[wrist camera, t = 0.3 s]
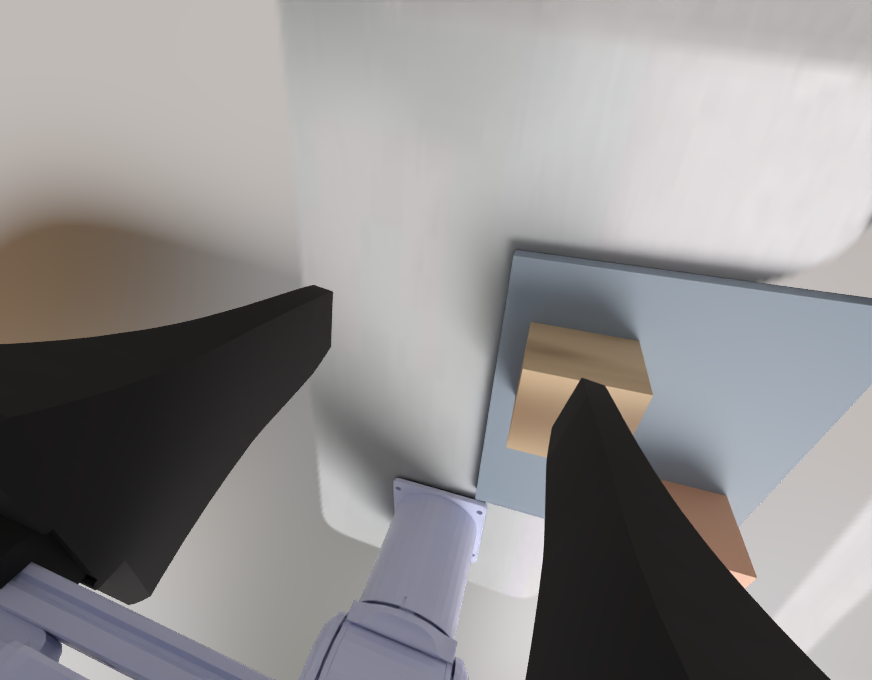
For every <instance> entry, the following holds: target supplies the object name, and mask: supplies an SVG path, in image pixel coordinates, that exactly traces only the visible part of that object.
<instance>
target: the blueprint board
mask: <svg viewBox="0 0 872 680" xmlns="http://www.w3.org/2000/svg"><path fill="white" fill-rule="evenodd" d="M531 322H535V323H540V324H546V325H552V326H557V327H563V328H569V329H574V330H580V331H586V332H591V333H597V334H603V335H608V336H614V337H620V338H625V339H631V340H637V341H639V342H640V346H641V350H642V353H643V357H644V361H645V365H646V369H647V373H648V377H649V381H650V385H651V389H652V393H653V397H652V399H651V401H650V403H649V405H648V407H647V409H646V411H645V413H644V415H643V417H642V419H641V421H640V423H639V425H638V427H637V429H636V431H635V433H634V435H633V436H634V438H635V440H636V441H637V443H638V445H639V447H640V448H641V450H642V452H643V453H644V455H645V457H646V458H647V460H648V461H649V463H650V465H651V466H652V468H653V469H654V471H655V472H656V474H657V475H658V477H659V478H660V479H661V480H665V481H669V482H673V483H677V484H681V485H685V486H689V487H693V488H697V489H701V490H705V491H709V492H713V493H717V494H721V495H725V496H727V498H728V501H729V503H730V506H731V509H732V512H733V514H734V517H735V520H736V522H737V525H738V527H739V526H740V525H741V524H742V523H743V522H744V521H745V520H746V519H747V518H748V516H749V515H750V514H751V513H752V512H753V511H754V510H755V509H756V508H757V507H758V506H759V505H760V503H762V501H763V500H764V499H765V498H766V497H767V496H768V495H769V494H770V493H771V492H772V491H773V490H774V488H776V486H777V485H778V484H779V483H780V482H781V481H782V480H783V479H784V478H785V477H786V475H788V473H790V471H791V470H792V469H793V468H794V467H795V466H796V465H797V464H798V463H799V462H800V460H802V459H803V457H804V456H805V455H806V454H807V453H808V452H809V451H810V450H811V449H812V448H813V447H814V446H815V444H817V442H818V441H819V440H820V439H821V438H822V437H823V436H824V435H825V434H826V433H827V432H828V431H829V430H830V428H831V427H832V426H833V425H834V424H835V423H836V422H837V421H838V420H839V419H840V418H841V417H842V416H843V415H844V413H845V412H846V411H847V410H848V409H849V408H850V407H851V406H852V405H853V404H854V403H855V402H856V401H857V399H858V398H859V397H860V396H861V395H862V394H863V393H864V392H865V391H866V390H867V389H868V388H869V387H870V386H871V384H872V298H867V297H859V296H852V295H844V294H837V293H829V292H822V291H815V290H808V289H800V288H793V287H786V286H779V285H771V284H764V283H757V282H749V281H742V280H735V279H727V278H720V277H713V276H705V275H698V274H691V273H683V272H676V271H669V270H661V269H654V268H647V267H639V266H632V265H625V264H617V263H610V262H603V261H595V260H588V259H581V258H573V257H566V256H559V255H551V254H544V253H537V252H529V251H522V250H515V253H514V256H513V262H512V268H511V275H510V281H509V287H508V294H507V300H506V306H505V313H504V319H503V325H502V332H501V338H500V344H499V351H498V357H497V363H496V370H495V376H494V382H493V389H492V395H491V401H490V408H489V414H488V420H487V427H486V433H485V439H484V446H483V452H482V458H481V465H480V471H479V477H478V484H477V490H476V496H475V499H477V500H481V501H484V502H488V503H491V504H495V505H498V506H502V507H505V508H509V509H512V510H516V511H519V512H523V513H526V514H530V515H533V516H537V517H540V518H544V519H545V488H546V460H547V458H546V457H542V456H538V455H534V454H530V453H526V452H522V451H518V450H514V449H510V448H506V446H507V440H508V434H509V429H510V423H511V418H512V412H513V407H514V401H515V396H516V391H517V386H518V381H519V376H520V372H521V367H522V362H523V357H524V352H525V348H526V343H527V338H528V333H529V328H530V324H531Z"/></svg>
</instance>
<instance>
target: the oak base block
mask: <svg viewBox="0 0 872 680" xmlns="http://www.w3.org/2000/svg"><path fill="white" fill-rule="evenodd" d="M581 378H585V379H588V380H591V381H594V382H597V383H599V384H602V385H605V386H606V388H607V390H608V391H609V393H610V395H611V397H612V399H613V400H614V402H615V404H616V406H617V408H618V409H619V411H620V413H621V415H622V417H623V419H624V420H625V422H626V424H627V426H628V427H629V429H630V431H631V433H632V435H634V433H635V431H636V429H637V427H638V425H639V423H640V421H641V419H642V417H643V415H644V413H645V411H646V409H647V407H648V405H649V403H650V401H651V399H652V397H653V393H652V389H651V385H650V381H649V377H648V373H647V369H646V365H645V361H644V357H643V353H642V350H641V346H640V342H639V341H637V340H631V339H625V338H620V337H614V336H608V335H603V334H597V333H591V332H586V331H580V330H574V329H569V328H563V327H557V326H552V325H546V324H540V323H535V322H531V324H530V328H529V333H528V338H527V343H526V348H525V352H524V357H523V362H522V367H521V372H520V376H519V381H518V386H517V391H516V396H515V401H514V407H513V412H512V418H511V423H510V429H509V434H508V440H507V446H506V448H510V449H514V450H518V451H522V452H526V453H530V454H534V455H538V456H542V457H546V458H547V453H548V447H549V441H550V435H551V429H552V426H553V424H554V423H555V421H556V419H557V418H558V416H559V414H560V413H561V411H562V409H563V408H564V406H565V404H566V403H567V401H568V399H569V398H570V396H571V394H572V393H573V391H574V389H575V388H576V386H577V384H578V383H579V381H580V379H581Z"/></svg>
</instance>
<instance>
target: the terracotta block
mask: <svg viewBox="0 0 872 680" xmlns="http://www.w3.org/2000/svg"><path fill="white" fill-rule="evenodd" d="M660 480H661V479H660ZM661 481H662V483H663V484H664V486H665V487H666V489H667V491H668V492H669V494H670V495H671V496H672V498H673V499H674V501H675V502H676V504H677V505H678V506H679V508H680V509H681V511H682V512H683V513H684V515H685V516H686V517H687V518H688V520H689V521H690V522H691V524H692V525H693V526H694V528H695V529H696V530H697V532H698V533H699V534H700V536H701V537H702V538H703V539H704V541H705V542H706V543H707V545H708V546H709V547H710V548H711V549H712V551H713V552H714V553H715V554H716V556H717V557H718V558H719V559H720V561H721V562H722V563H723V564H724V565H725V566H726V568H727V569H728V570H729V571H730V572H731V573H732V574H733V576H734V577H735V578H736V579H737V580H738V581H739V583H740V584H741V585H742V586H743V587H744V588H746V587H747V586H749V585H750V584H751V583H752V582H753V581H754V580H755V579H757V577H756V574H755V571H754V569H753V566H752V563H751V560H750V558H749V555H748V552H747V550H746V547H745V544H744V542H743V539H742V536H741V534H740V531H739V528H738V525H737V522H736V520H735V517H734V514H733V512H732V509H731V506H730V503H729V501H728V498H727V496H725V495H721V494H717V493H713V492H709V491H705V490H701V489H697V488H693V487H689V486H685V485H681V484H677V483H673V482H669V481H665V480H661Z"/></svg>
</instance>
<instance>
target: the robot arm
mask: <svg viewBox="0 0 872 680" xmlns="http://www.w3.org/2000/svg"><path fill="white" fill-rule="evenodd" d="M332 302H333V292H332V291H330V290H327V289H324V288H321V287H318V286H315V285H312V286H308V287H304V288H300V289H297V290H294V291H290V292H287V293H284V294H281V295H278V296H275V297H272V298H269V299H265V300H262V301H259V302H256V303H253V304H250V305H247V306H243V307H240V308H236V309H232V310H229V311H225V312H222V313H218V314H214V315H211V316H208V317H204V318H199V319H195V320H191V321H187V322H182V323H178V324H173V325H168V326H163V327H158V328H152V329H146V330H139V331H132V332H125V333H118V334H111V335H104V336H98V337H90V338H79V339H69V340H60V341H59V340H58V341H45V342H33V343H16V344H0V680H89V679H87V678H85V677H83V676H81V675H79V674H78V673H76V672H74V671H72V670H70V669H68V668H66V667H65V666H63V665H61V664H59V663H58V662H59V658H60V656H61V653H62V644H61V643H64V644H65V645H67V646H69V647H71V648H73V649H75V650H77V651H79V652H81V653H83V654H85V655H87V656H89V657H91V658H93V659H95V660H97V661H99V662H101V663H103V664H105V665H107V666H109V667H111V668H113V669H115V670H116V671H118V672H120V673H122V674H124V675H126V676H128V677H130V678H132V679H134V680H275V679H272V678H270V677H268V676H266V675H264V674H262V673H260V672H258V671H256V670H254V669H251V668H250V667H247V666H246V665H243V664H241V663H239V662H237V661H235V660H233V659H231V658H229V657H227V656H225V655H223V654H220V653H218V652H217V651H215V650H212V649H210V648H208V647H206V646H204V645H202V644H200V643H198V642H196V641H194V640H192V639H190V638H187V637H186V636H183V635H181V634H179V633H177V632H175V631H173V630H171V629H169V628H167V627H165V626H163V625H161V624H159V623H157V622H154V621H153V620H150V619H148V618H146V617H144V616H142V615H140V614H138V613H136V612H134V611H132V610H130V609H128V608H125V607H123V606H121V605H119V604H117V603H115V602H113V601H111V600H109V599H107V598H105V597H103V596H101V595H99V594H97V593H95V592H92V591H90V590H88V589H86V588H84V587H82V586H80V585H78V584H79V583H81V584H83V585H86V586H87V587H89V588H92V589H94V590H99V591H101V592H103V593H105V594H107V595H109V596H111V597H113V598H116V599H117V600H120V601H122V602H124V603H126V604H128V605H130V604H135V603H137V602H140V601H142V600H144V599H146V598H148V597H150V596H151V595H152V593H153V591H154V589H155V587H156V586H157V584H158V583H159V581H160V579H161V577H162V576H163V574H164V573H165V571H166V569H167V568H168V566H169V564H170V563H171V561H172V560H173V558H174V556H175V555H176V553H177V551H178V550H179V548H180V546H181V545H182V543H183V542H184V540H185V538H186V537H187V535H188V534H189V532H190V531H191V529H192V528H193V526H194V525H195V523H196V522H197V520H198V518H199V517H200V515H201V513H202V512H203V511H204V509H205V508H206V506H207V505H208V503H209V501H210V500H211V499H212V497H213V496H214V494H215V493H216V491H217V490H218V489H219V487H220V486H221V484H222V483H223V481H224V480H225V478H226V477H227V476H228V474H229V473H230V471H231V470H232V469H233V467H234V466H235V465H236V463H237V462H238V460H239V459H240V458H241V456H242V455H243V454H244V452H245V451H246V450H247V448H248V447H249V445H250V444H251V442H252V441H253V440H254V439H255V438H256V437H257V435H258V434H259V433H260V432H261V430H262V429H263V428H264V427H265V426H266V425H267V424H268V423H269V422H270V420H271V419H272V418H273V417H274V416H275V415H276V414H277V413H278V412H279V410H281V408H282V407H283V406H284V405H285V404H286V403H287V402H288V401H289V400H290V399H291V397H292V396H293V395H294V394H295V393H296V392H297V391H298V390H299V389H300V387H301V386H302V385H303V384H304V383H305V382H306V381H307V380H308V378H309V377H310V376H311V375H312V374H313V373H314V371H315V370H316V368H317V367H318V365H319V364H320V363H321V361H322V360H323V358H324V357H325V355H326V354H327V352H328V350H329V349H330V347H331V329H332ZM393 492H394V509H395V515H394V517H393V519H392V522H391V524H390V527H389V529H388V532H387V534H386V537H385V539H384V541H383V544H382V546H381V549H380V551H379V554H378V556H377V559H376V561H375V564H374V566H373V568H372V571H371V573H370V576H369V578H368V581H367V583H366V586H365V588H364V590H363V593H362V595H361V598H360V600H359V601H357V600H354V601H353V604H352V606H351V609H350V611H349V613H348V612H346V611H340V612H338V613H337V614H336V615H335V616H333V617H331V618H330V619H329V620H328V621H327V623H326V624H325V625H324V627H323V628H322V630H321V631H320V634H319V635H318V637H317V639H316V641H315V643H314V645H313V647H312V649H311V651H310V653H309V656H308V658H307V660H306V662H305V665H304V667H303V670H302V672H301V675H300V678H299V680H468V679H469V677H468V673H467V671H466V669H465V667H464V662H463V660H462V659H459V658H457V657H455V659H454V656H455V651H456V646H457V641H456V640H455V635H456V630H457V626H458V621H459V616H460V611H461V607H462V602H463V597H464V592H465V588H466V583H467V578H468V573H469V569H470V564H471V563H475V562H476V561H477V556H478V551H479V546H480V541H481V535H482V530H483V525H484V520H485V515H486V510H487V505H486V504H485V503H484V502H481V501H478V500H474V499H471V498H467V497H464V496H460V495H457V494H453V493H450V492H446V491H443V490H439V489H436V488H432V487H429V486H425V485H422V484H418V483H415V482H411V481H408V480H404V479H401V478H395V479H394V482H393ZM60 642H61V643H60ZM526 680H830V679H829V678H828V677H827V676H826V675H825V674H824V673H823V672H822V671H821V670H820V669H819V668H818V667H817V666H816V665H815V664H814V663H813V661H812V660H811V659H810V658H809V657H808V656H807V655H806V654H805V653H804V652H803V651H802V650H801V649H800V648H799V647H798V646H797V645H796V644H795V643H794V642H793V641H792V640H791V638H790V637H789V636H788V635H787V634H786V633H785V632H784V631H783V630H782V629H781V628H780V627H779V626H778V625H777V624H776V623H775V622H774V621H773V620H772V618H771V617H770V616H769V615H768V614H767V613H766V612H765V611H764V610H763V609H762V607H760V605H759V604H758V603H757V602H756V601H755V600H754V599H753V598H752V597H751V595H750V594H749V593H748V592H747V591H746V590H745V588H744V587H743V586H742V585H741V584H740V583H739V581H738V580H737V579H736V578H735V577H734V576H733V574H732V573H731V572H730V571H729V570H728V569H727V568H726V566H725V565H724V564H723V563H722V562H721V561H720V559H719V558H718V557H717V556H716V554H715V553H714V552H713V551H712V549H711V548H710V547H709V546H708V545H707V543H706V542H705V541H704V539H703V538H702V537H701V536H700V534H699V533H698V532H697V530H696V529H695V528H694V526H693V525H692V524H691V522H690V521H689V520H688V518H687V517H686V516H685V515H684V513H683V512H682V511H681V509H680V508H679V506H678V505H677V504H676V502H675V501H674V499H673V498H672V496H671V495H670V494H669V492H668V491H667V489H666V487H665V486H664V484H663V483H662V481H661V480H660V478H659V477H658V475H657V474H656V472H655V471H654V469H653V468H652V466H651V465H650V463H649V461H648V460H647V458H646V457H645V455H644V453H643V452H642V450H641V448H640V447H639V445H638V443H637V441H636V440H635V438H634V436H633V435H632V433H631V431H630V429H629V427H628V426H627V424H626V422H625V420H624V419H623V417H622V415H621V413H620V411H619V409H618V408H617V406H616V404H615V402H614V400H613V399H612V397H611V395H610V393H609V391H608V390H607V388H606V386H605V385H602V384H599V383H597V382H594V381H591V380H588V379H585V378H581V379H580V381H579V383H578V384H577V386H576V388H575V389H574V391H573V393H572V394H571V396H570V398H569V399H568V401H567V403H566V404H565V406H564V408H563V409H562V411H561V413H560V414H559V416H558V418H557V419H556V421H555V423H554V424H553V426H552V429H551V435H550V441H549V447H548V453H547V460H546V488H545V531H544V552H543V564H542V571H541V579H540V587H539V595H538V602H537V609H536V617H535V623H534V630H533V637H532V643H531V650H530V655H529V662H528V667H527V674H526Z"/></svg>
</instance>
